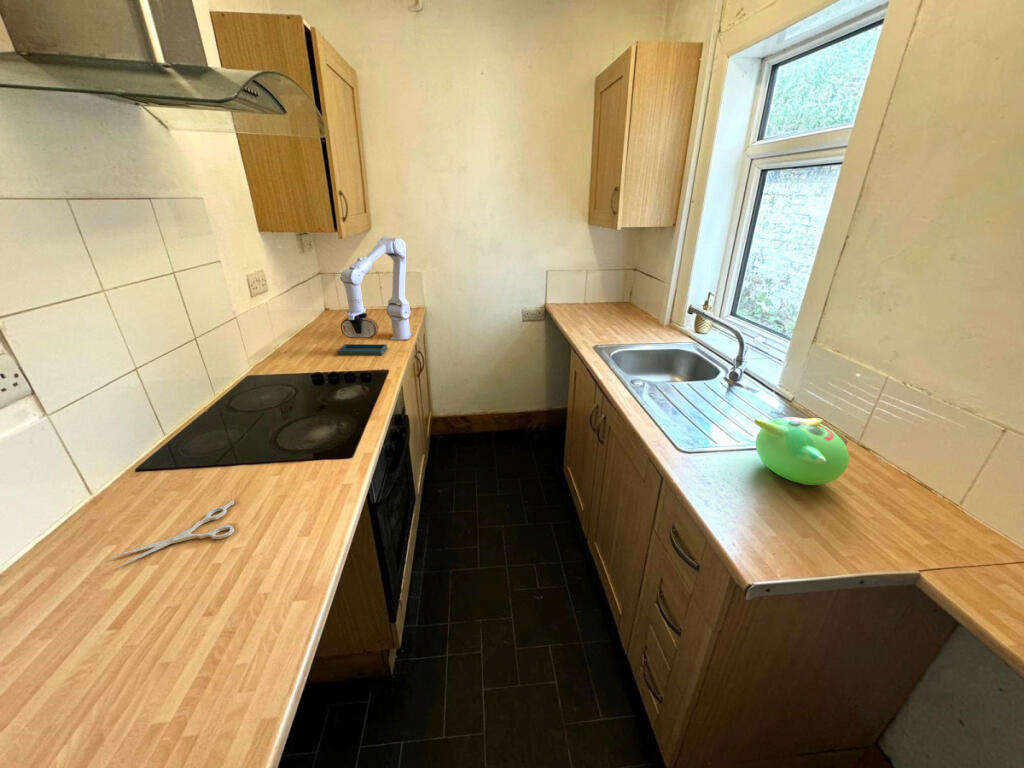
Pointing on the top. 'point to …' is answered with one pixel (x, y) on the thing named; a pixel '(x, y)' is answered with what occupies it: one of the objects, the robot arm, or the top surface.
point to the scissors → (190, 533)
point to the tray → (363, 349)
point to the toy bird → (801, 450)
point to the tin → (367, 329)
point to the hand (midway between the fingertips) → (360, 332)
